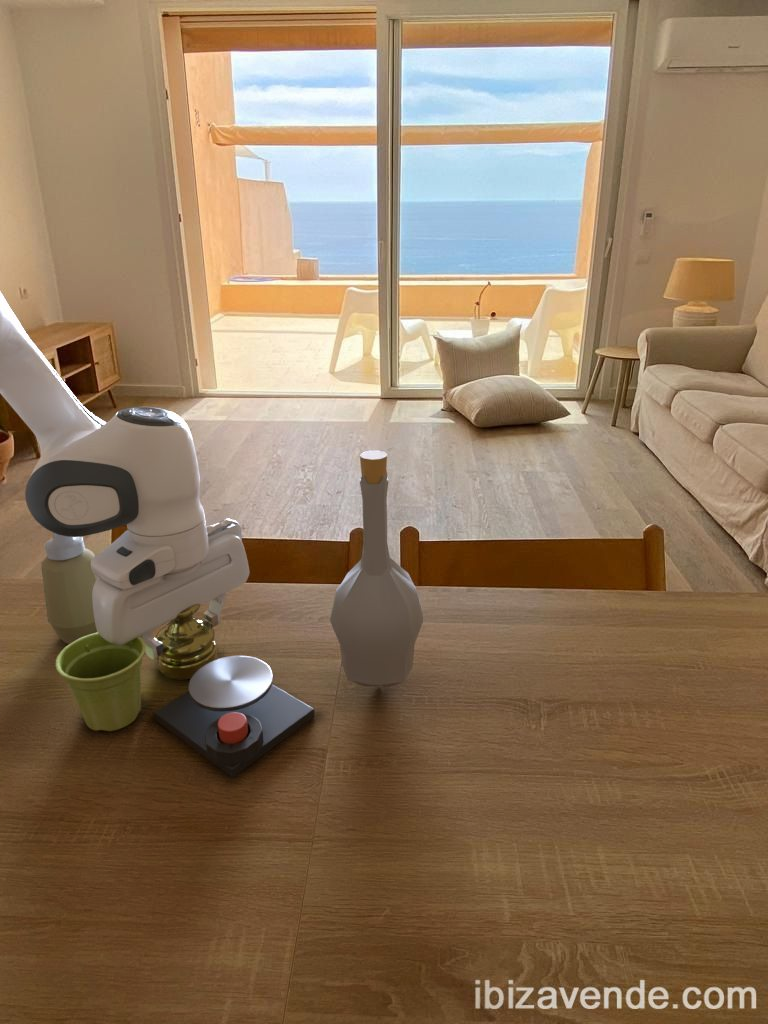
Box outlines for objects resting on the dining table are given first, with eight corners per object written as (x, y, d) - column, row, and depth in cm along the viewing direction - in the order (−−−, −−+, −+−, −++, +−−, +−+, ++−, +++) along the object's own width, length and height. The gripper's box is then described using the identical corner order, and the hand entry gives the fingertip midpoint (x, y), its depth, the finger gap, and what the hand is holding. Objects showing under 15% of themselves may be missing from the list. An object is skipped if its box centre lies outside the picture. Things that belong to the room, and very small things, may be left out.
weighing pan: (172, 688, 81) (171, 684, 80) (237, 650, 87) (236, 646, 87) (224, 724, 75) (224, 719, 75) (289, 680, 82) (289, 676, 81)
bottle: (352, 727, 79) (342, 481, 66) (319, 671, 88) (305, 446, 76) (440, 699, 83) (446, 463, 70) (399, 649, 92) (399, 432, 80)
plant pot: (133, 679, 87) (121, 620, 83) (170, 714, 81) (160, 653, 77) (57, 714, 81) (42, 653, 78) (92, 756, 75) (76, 691, 71)
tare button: (213, 735, 74) (211, 723, 73) (235, 720, 76) (234, 708, 75) (231, 748, 72) (229, 735, 71) (253, 732, 74) (252, 720, 73)
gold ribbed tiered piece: (214, 642, 94) (206, 577, 90) (221, 674, 88) (211, 606, 84) (158, 653, 92) (146, 587, 88) (160, 686, 86) (147, 617, 81)
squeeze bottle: (122, 637, 95) (98, 519, 88) (59, 658, 91) (29, 535, 84) (107, 611, 101) (83, 498, 94) (47, 630, 97) (18, 513, 90)
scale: (151, 722, 80) (147, 701, 78) (236, 670, 88) (234, 650, 87) (232, 783, 71) (229, 760, 70) (317, 718, 80) (316, 697, 79)
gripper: (223, 507, 92) (233, 598, 97) (76, 566, 77) (98, 667, 83) (254, 520, 88) (263, 613, 94) (106, 584, 74) (127, 689, 79)
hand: (185, 639), depth 88 cm, fingers closed on gold ribbed tiered piece, 7 cm apart
